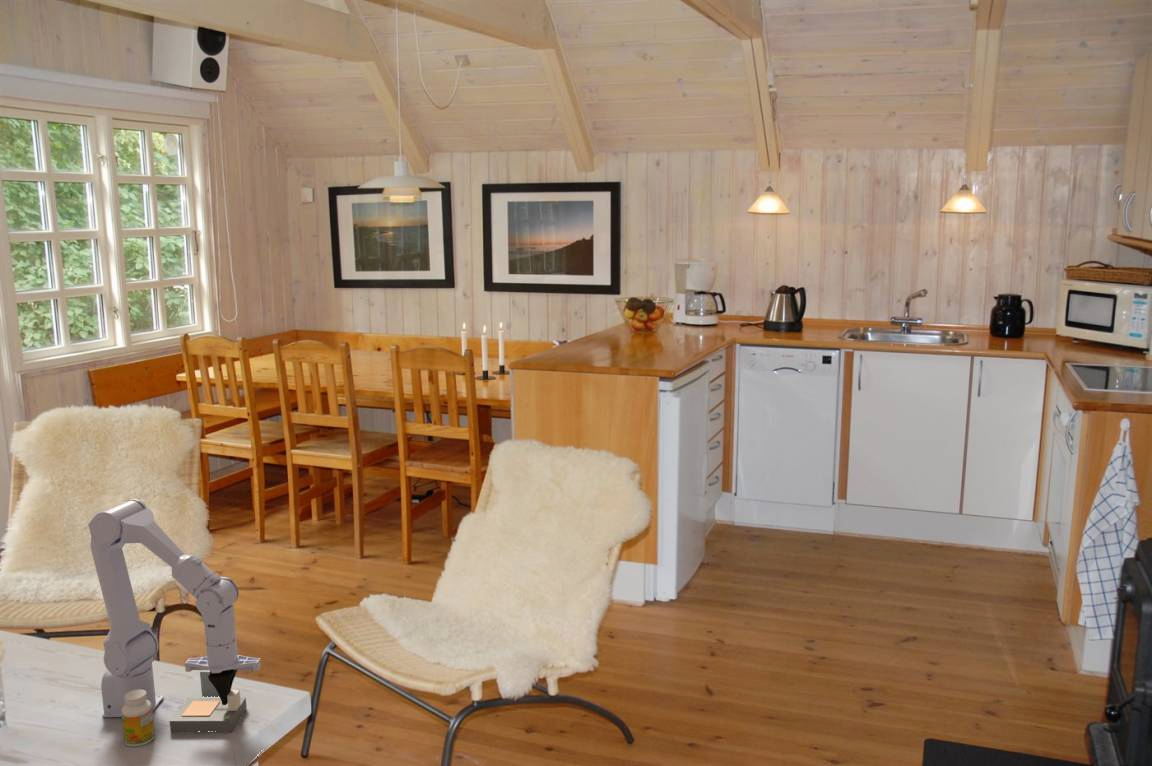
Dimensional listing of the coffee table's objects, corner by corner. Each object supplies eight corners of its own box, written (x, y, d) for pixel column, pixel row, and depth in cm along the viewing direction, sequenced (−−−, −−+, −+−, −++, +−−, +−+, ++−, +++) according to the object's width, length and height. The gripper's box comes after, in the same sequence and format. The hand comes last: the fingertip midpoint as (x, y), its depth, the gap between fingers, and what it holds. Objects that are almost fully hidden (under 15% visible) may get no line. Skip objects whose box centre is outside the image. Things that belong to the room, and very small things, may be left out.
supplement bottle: (118, 743, 186) (113, 697, 184) (142, 729, 191) (137, 684, 189) (137, 750, 184) (132, 703, 182) (160, 736, 188) (156, 691, 187)
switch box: (170, 732, 190) (169, 719, 189) (188, 708, 199) (187, 696, 198) (230, 732, 190) (229, 719, 189) (246, 708, 199) (245, 696, 198)
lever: (228, 710, 192) (227, 696, 192) (232, 704, 195) (231, 690, 194) (236, 710, 192) (235, 696, 192) (240, 704, 195) (239, 690, 194)
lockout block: (202, 698, 203) (199, 672, 202) (209, 688, 207) (207, 663, 206) (221, 698, 203) (218, 671, 202) (227, 688, 207) (225, 662, 206)
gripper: (176, 649, 187) (182, 713, 190) (250, 649, 187) (255, 712, 189) (191, 633, 194) (196, 695, 196) (262, 633, 194) (266, 694, 196)
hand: (226, 702), depth 193 cm, fingers closed
